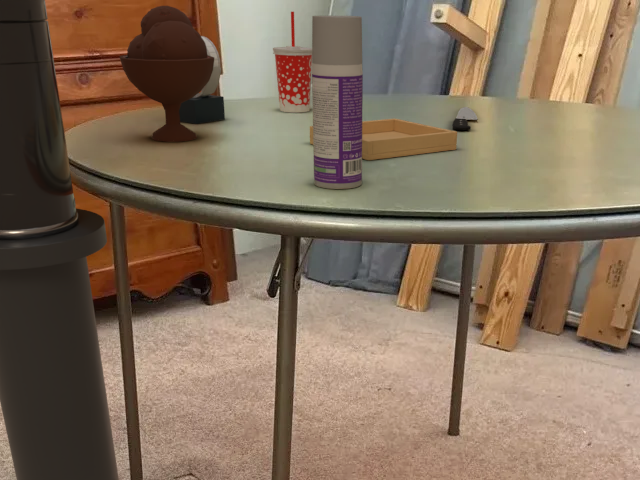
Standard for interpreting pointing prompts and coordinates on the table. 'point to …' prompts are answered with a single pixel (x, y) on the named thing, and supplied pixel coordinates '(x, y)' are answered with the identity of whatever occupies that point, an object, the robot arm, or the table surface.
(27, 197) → the robot arm
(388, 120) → the tray
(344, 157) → the container
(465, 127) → the kitchen knife
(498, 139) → the table surface
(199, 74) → the ice cream bowl
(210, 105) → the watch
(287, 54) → the beverage cup
